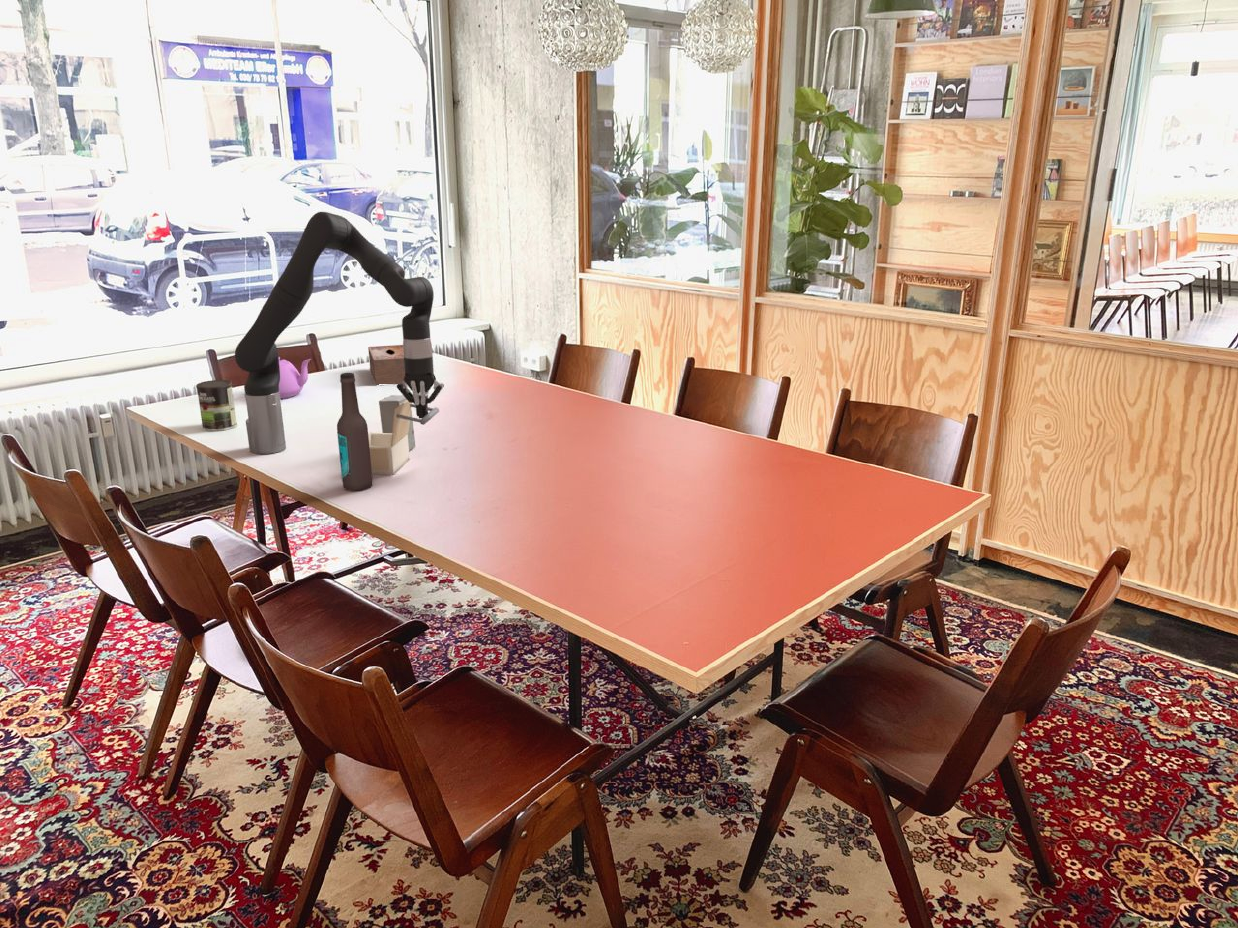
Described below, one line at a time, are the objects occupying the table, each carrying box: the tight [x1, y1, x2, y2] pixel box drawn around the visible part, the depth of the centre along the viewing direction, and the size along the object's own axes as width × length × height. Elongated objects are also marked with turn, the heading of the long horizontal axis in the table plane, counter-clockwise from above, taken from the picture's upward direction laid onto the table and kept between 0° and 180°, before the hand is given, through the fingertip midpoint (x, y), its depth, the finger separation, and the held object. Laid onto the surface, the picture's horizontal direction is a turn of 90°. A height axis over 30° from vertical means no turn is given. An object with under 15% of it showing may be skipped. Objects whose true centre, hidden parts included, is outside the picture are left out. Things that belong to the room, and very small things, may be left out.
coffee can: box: [195, 379, 238, 432], centre depth 292 cm, size 10×10×14 cm
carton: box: [368, 432, 411, 476], centre depth 255 cm, size 11×14×8 cm
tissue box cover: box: [367, 344, 405, 386], centre depth 358 cm, size 26×14×10 cm, turn 19°
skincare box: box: [378, 394, 416, 452], centre depth 268 cm, size 8×7×16 cm
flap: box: [391, 400, 440, 446], centre depth 252 cm, size 10×13×8 cm
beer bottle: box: [336, 372, 374, 492], centre depth 236 cm, size 8×8×30 cm
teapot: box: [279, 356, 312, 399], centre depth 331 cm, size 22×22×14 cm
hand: (422, 417), depth 251 cm, fingers closed
